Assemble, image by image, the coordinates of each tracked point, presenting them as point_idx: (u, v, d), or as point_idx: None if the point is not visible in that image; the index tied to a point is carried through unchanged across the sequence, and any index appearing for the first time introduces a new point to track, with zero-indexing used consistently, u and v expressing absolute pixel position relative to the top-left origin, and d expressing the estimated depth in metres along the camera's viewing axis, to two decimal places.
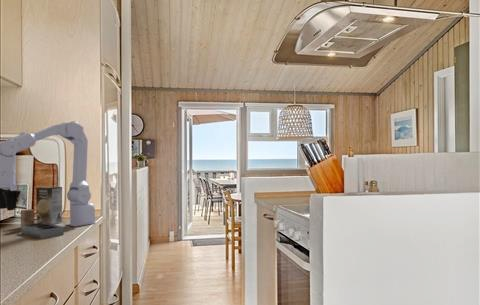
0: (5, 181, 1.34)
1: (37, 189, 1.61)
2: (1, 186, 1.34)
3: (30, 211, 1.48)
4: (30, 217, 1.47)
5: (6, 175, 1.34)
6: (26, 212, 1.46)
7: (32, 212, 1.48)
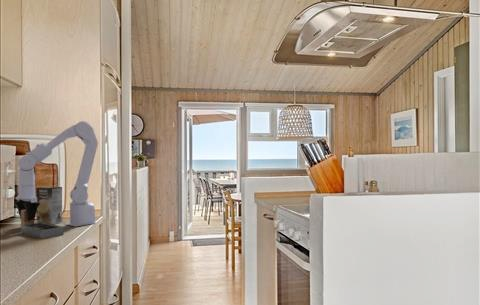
0: (26, 193, 1.46)
1: (37, 189, 1.61)
2: (22, 198, 1.45)
3: None
4: None
5: (27, 188, 1.46)
6: (26, 212, 1.46)
7: None
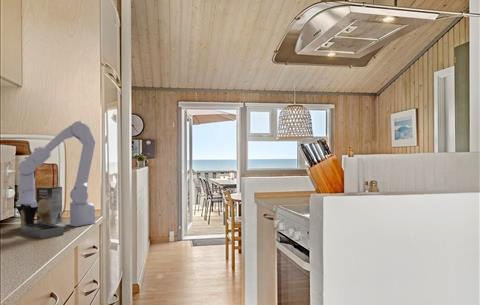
0: (26, 198, 1.46)
1: (37, 189, 1.61)
2: (22, 203, 1.45)
3: None
4: None
5: (27, 192, 1.46)
6: None
7: None
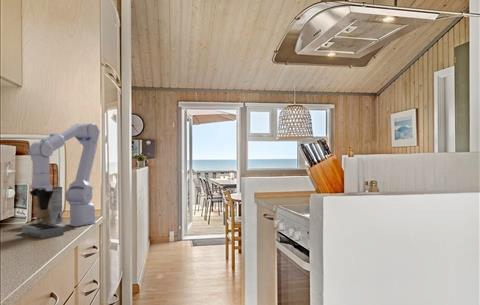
0: (40, 181, 1.37)
1: None
2: (37, 186, 1.36)
3: None
4: None
5: (41, 176, 1.37)
6: None
7: None
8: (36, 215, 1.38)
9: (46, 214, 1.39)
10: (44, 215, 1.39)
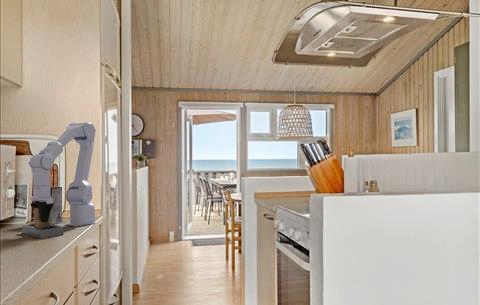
0: (41, 194, 1.37)
1: None
2: (37, 199, 1.36)
3: None
4: None
5: (42, 188, 1.37)
6: None
7: None
8: (37, 227, 1.37)
9: None
10: None
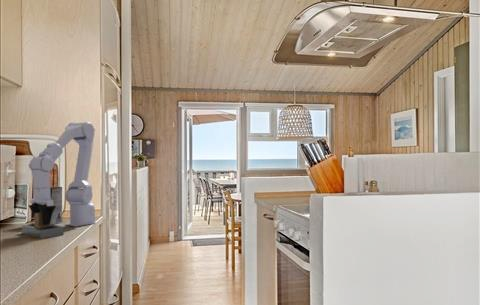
0: (41, 196, 1.37)
1: None
2: (37, 201, 1.36)
3: None
4: None
5: (42, 190, 1.37)
6: (40, 215, 1.37)
7: None
8: None
9: None
10: None
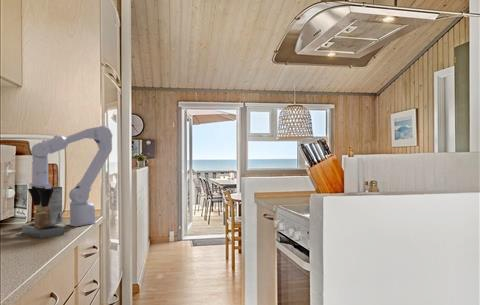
0: (39, 180, 1.47)
1: None
2: (36, 184, 1.46)
3: (44, 214, 1.38)
4: (44, 220, 1.38)
5: (40, 174, 1.47)
6: (40, 215, 1.37)
7: (46, 215, 1.39)
8: None
9: None
10: None
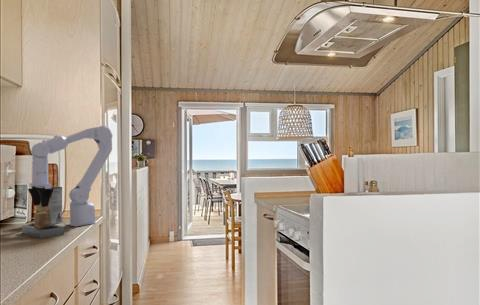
0: (39, 180, 1.47)
1: None
2: (36, 184, 1.46)
3: (44, 214, 1.38)
4: (44, 220, 1.38)
5: (40, 174, 1.47)
6: (40, 215, 1.37)
7: (46, 215, 1.39)
8: None
9: None
10: None
